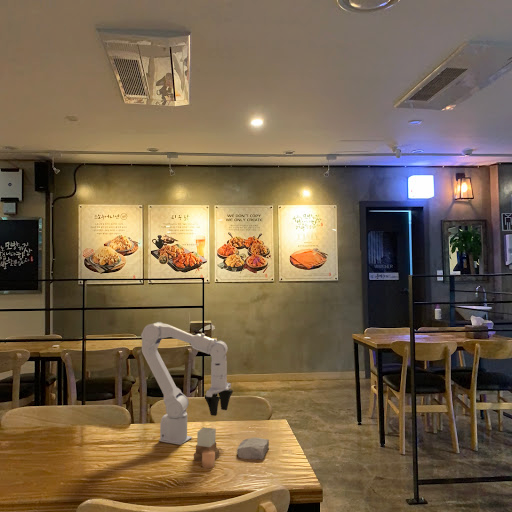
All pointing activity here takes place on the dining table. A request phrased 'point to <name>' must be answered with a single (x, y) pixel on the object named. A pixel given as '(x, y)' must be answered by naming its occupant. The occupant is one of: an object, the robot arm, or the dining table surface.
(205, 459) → the tan rounded block
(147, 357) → the robot arm
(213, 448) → the walnut block
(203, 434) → the blue-grey cube
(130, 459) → the dining table surface
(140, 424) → the dining table surface
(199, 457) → the walnut slab
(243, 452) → the stone block
